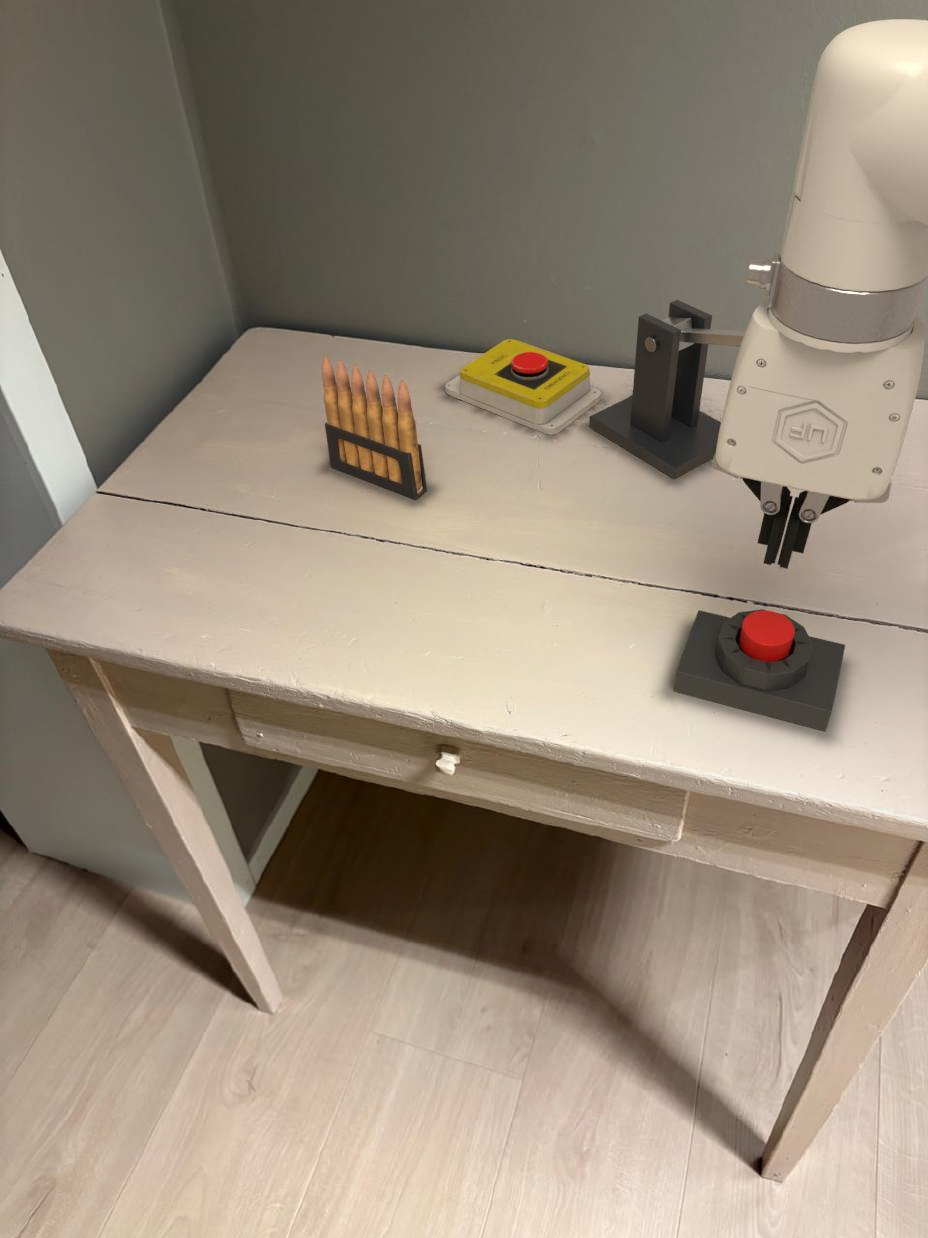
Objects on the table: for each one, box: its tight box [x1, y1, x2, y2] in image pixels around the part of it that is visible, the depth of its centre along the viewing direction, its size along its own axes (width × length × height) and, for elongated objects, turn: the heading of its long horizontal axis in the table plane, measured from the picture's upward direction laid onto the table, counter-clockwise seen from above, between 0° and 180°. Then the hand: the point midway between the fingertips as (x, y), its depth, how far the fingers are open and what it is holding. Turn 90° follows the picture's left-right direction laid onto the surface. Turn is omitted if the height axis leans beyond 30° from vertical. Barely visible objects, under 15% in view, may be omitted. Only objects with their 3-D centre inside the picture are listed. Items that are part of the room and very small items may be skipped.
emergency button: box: [444, 338, 602, 436], centre depth 102 cm, size 9×4×15 cm
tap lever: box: [661, 316, 746, 351], centre depth 84 cm, size 13×5×2 cm, turn 37°
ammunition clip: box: [321, 355, 428, 501], centre depth 89 cm, size 11×2×12 cm, turn 55°
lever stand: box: [588, 299, 721, 480], centre depth 92 cm, size 12×9×13 cm
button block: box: [673, 608, 846, 732], centre depth 71 cm, size 11×7×4 cm, turn 67°
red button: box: [739, 609, 795, 662], centre depth 69 cm, size 4×4×2 cm
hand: (779, 553), depth 64 cm, fingers closed
